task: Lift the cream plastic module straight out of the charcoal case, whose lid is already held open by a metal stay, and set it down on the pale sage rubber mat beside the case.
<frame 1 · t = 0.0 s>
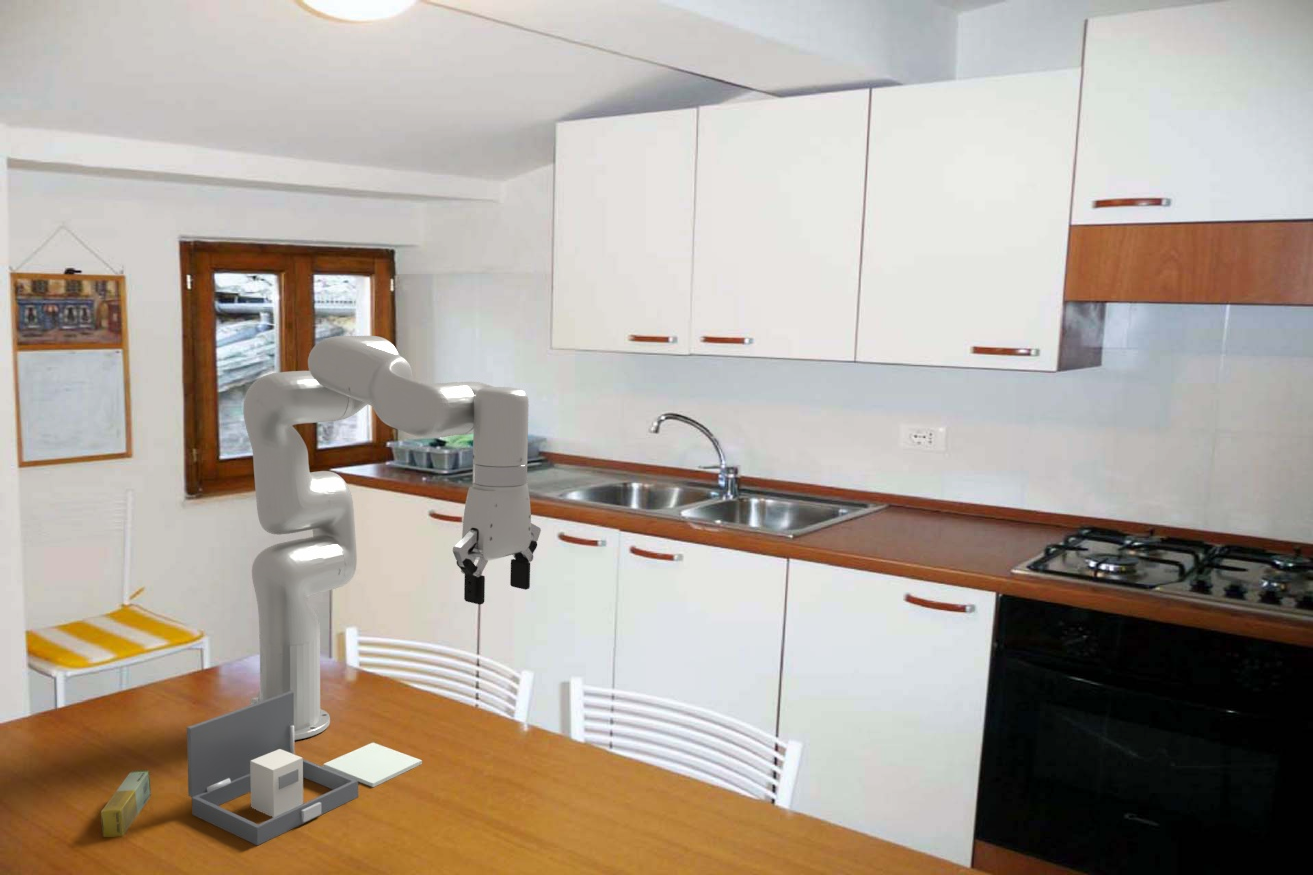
hand: (497, 594, 150), 31 cm above the table, tool pointing down, fingers open, 9 cm apart
module: (277, 805, 151), resting in case
mat: (373, 765, 165), on the table
case: (277, 805, 151), on the table
medication box: (127, 817, 147), on the table
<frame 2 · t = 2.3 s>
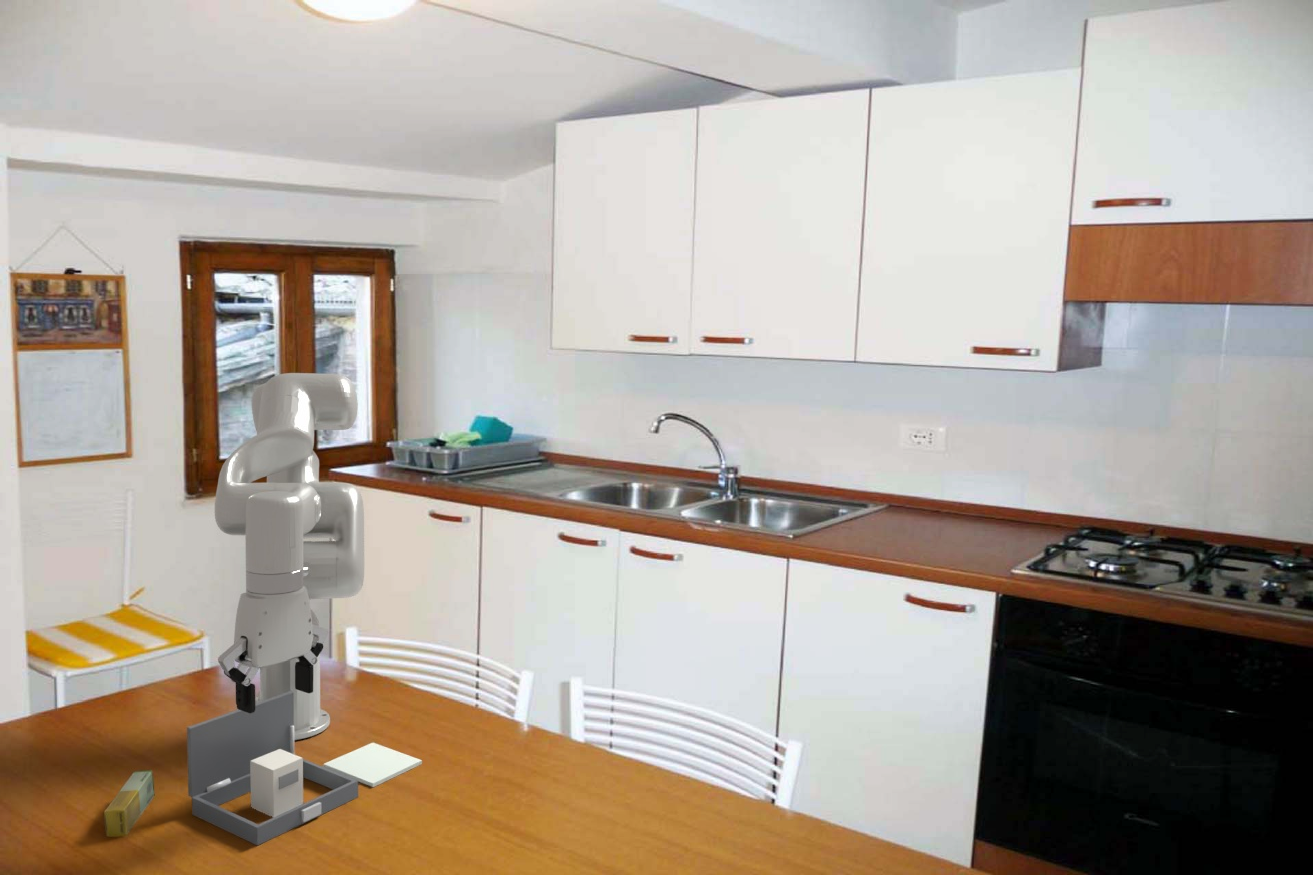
hand: (275, 700, 149), 16 cm above the table, tool pointing down, fingers open, 9 cm apart
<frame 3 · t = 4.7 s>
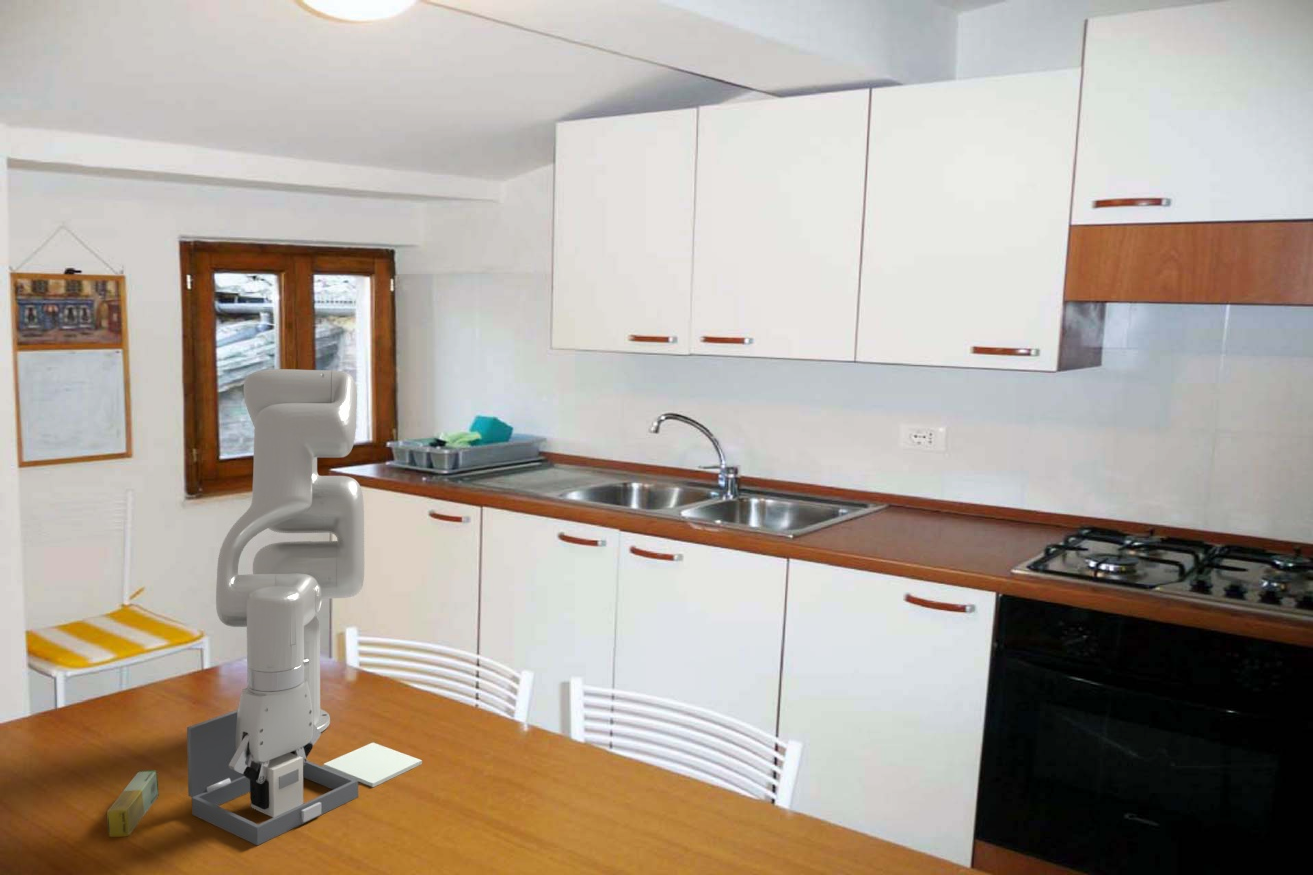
hand: (277, 797, 151), 1 cm above the table, tool pointing down, fingers closed on module, 5 cm apart
module: (277, 805, 151), resting in case, touching gripper
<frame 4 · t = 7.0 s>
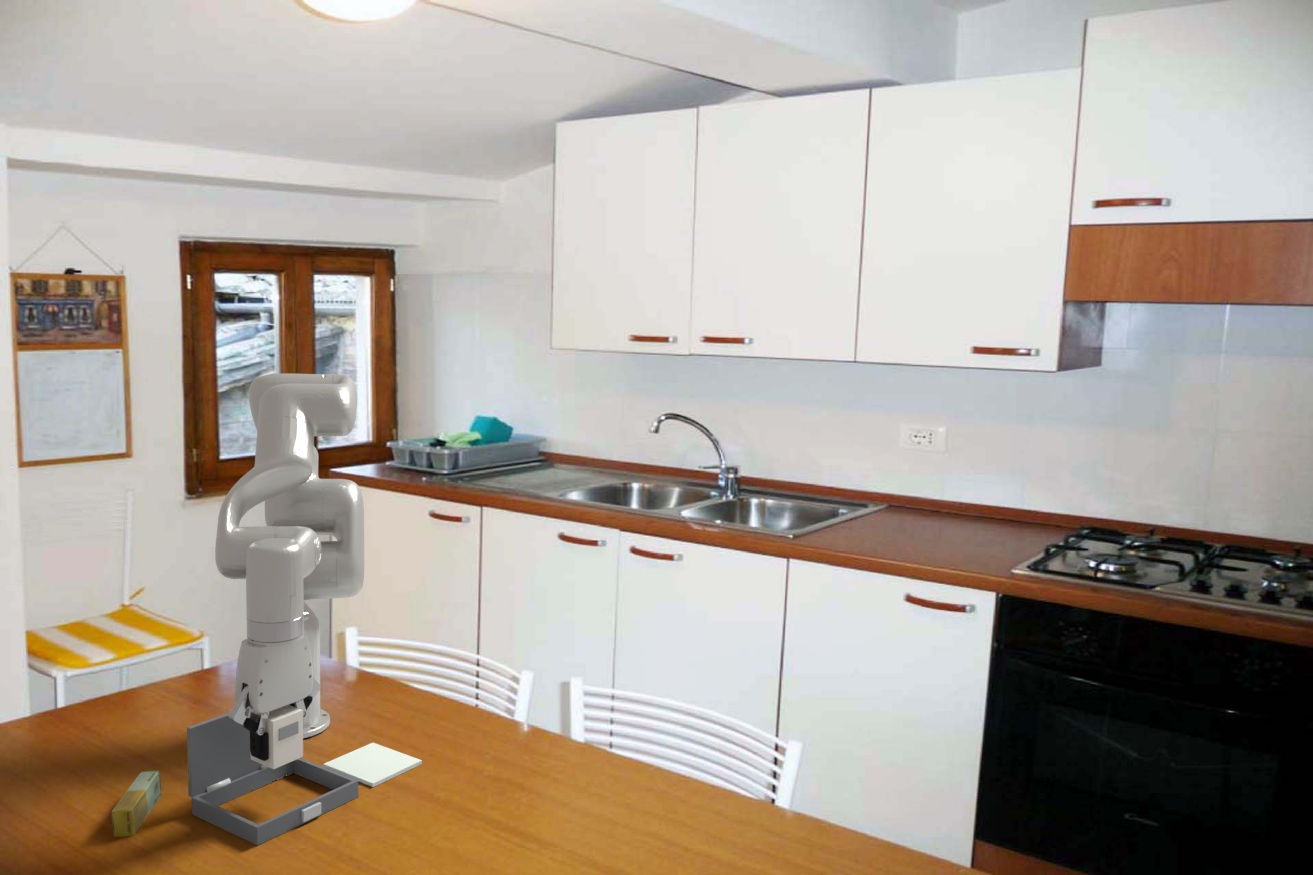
hand: (276, 749, 151), 8 cm above the table, tool pointing down, fingers closed on module, 5 cm apart
module: (277, 757, 151), point 7 cm above the table, touching gripper
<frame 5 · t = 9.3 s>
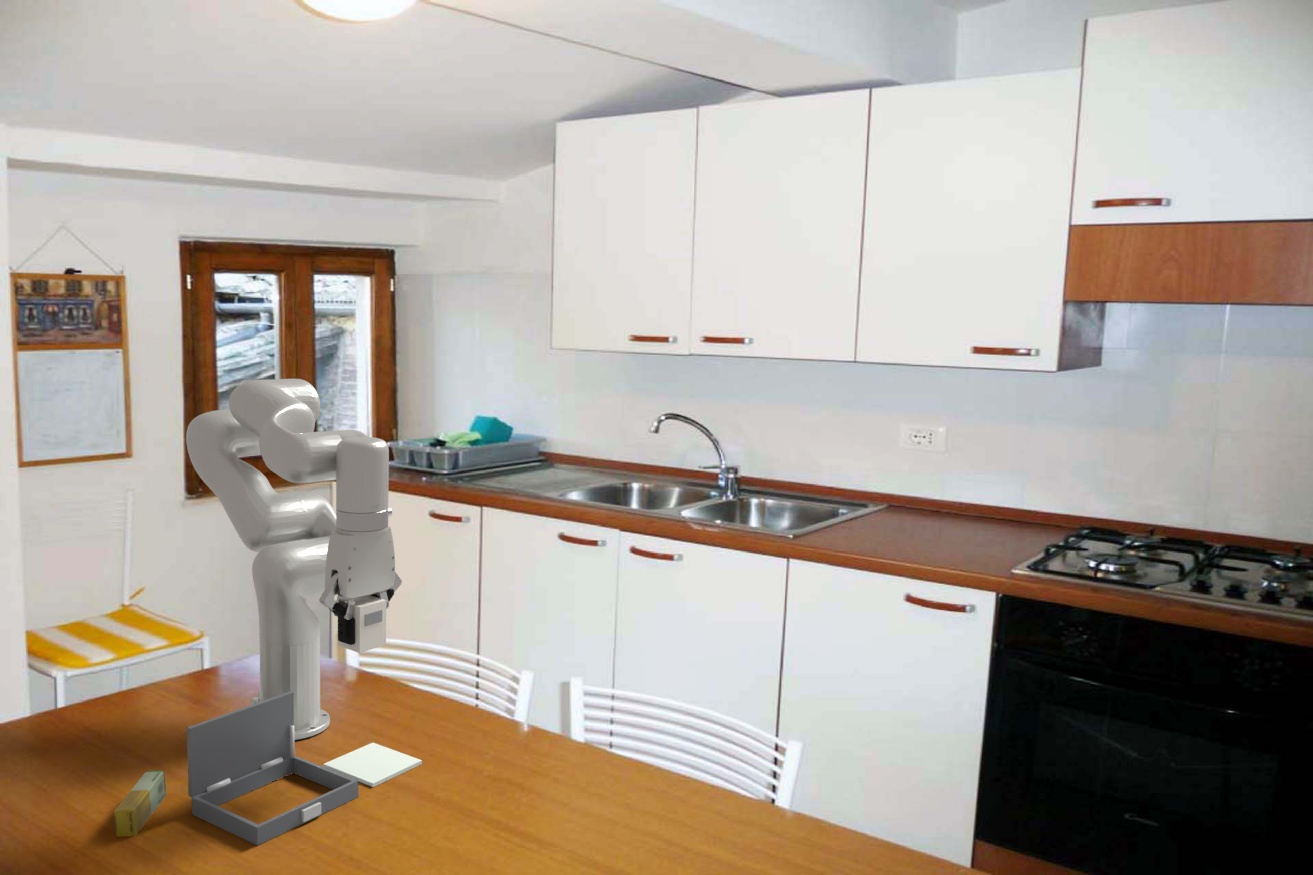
hand: (361, 636, 160), 21 cm above the table, tool pointing down, fingers closed on module, 5 cm apart
module: (361, 644, 161), point 20 cm above the table, touching gripper
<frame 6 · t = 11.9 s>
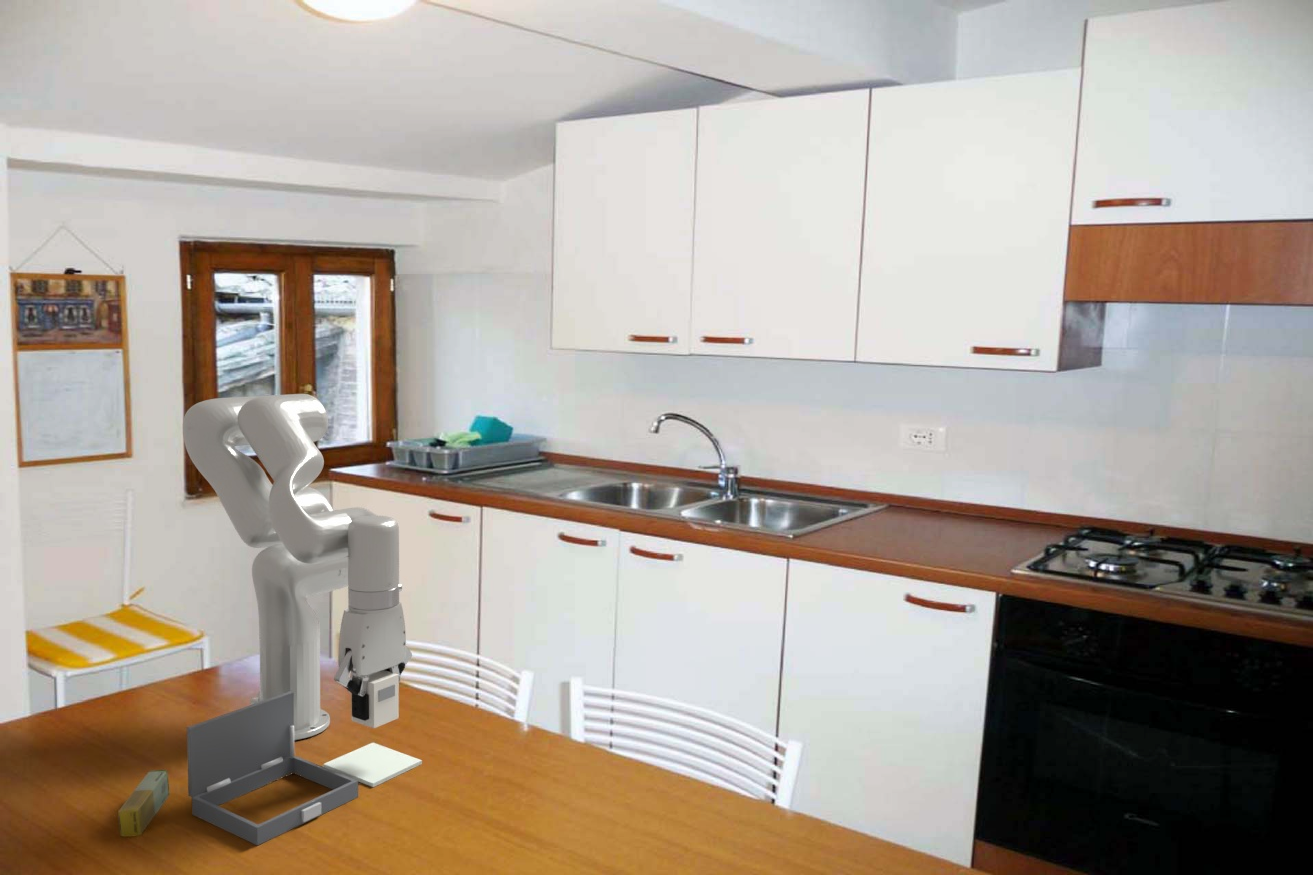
hand: (374, 711, 163), 9 cm above the table, tool pointing down, fingers closed on module, 5 cm apart
module: (375, 719, 164), point 8 cm above the table, touching gripper
when the fingers open (3 cm above the table, at t = 14.0 s): module stays where it is, resting on mat.
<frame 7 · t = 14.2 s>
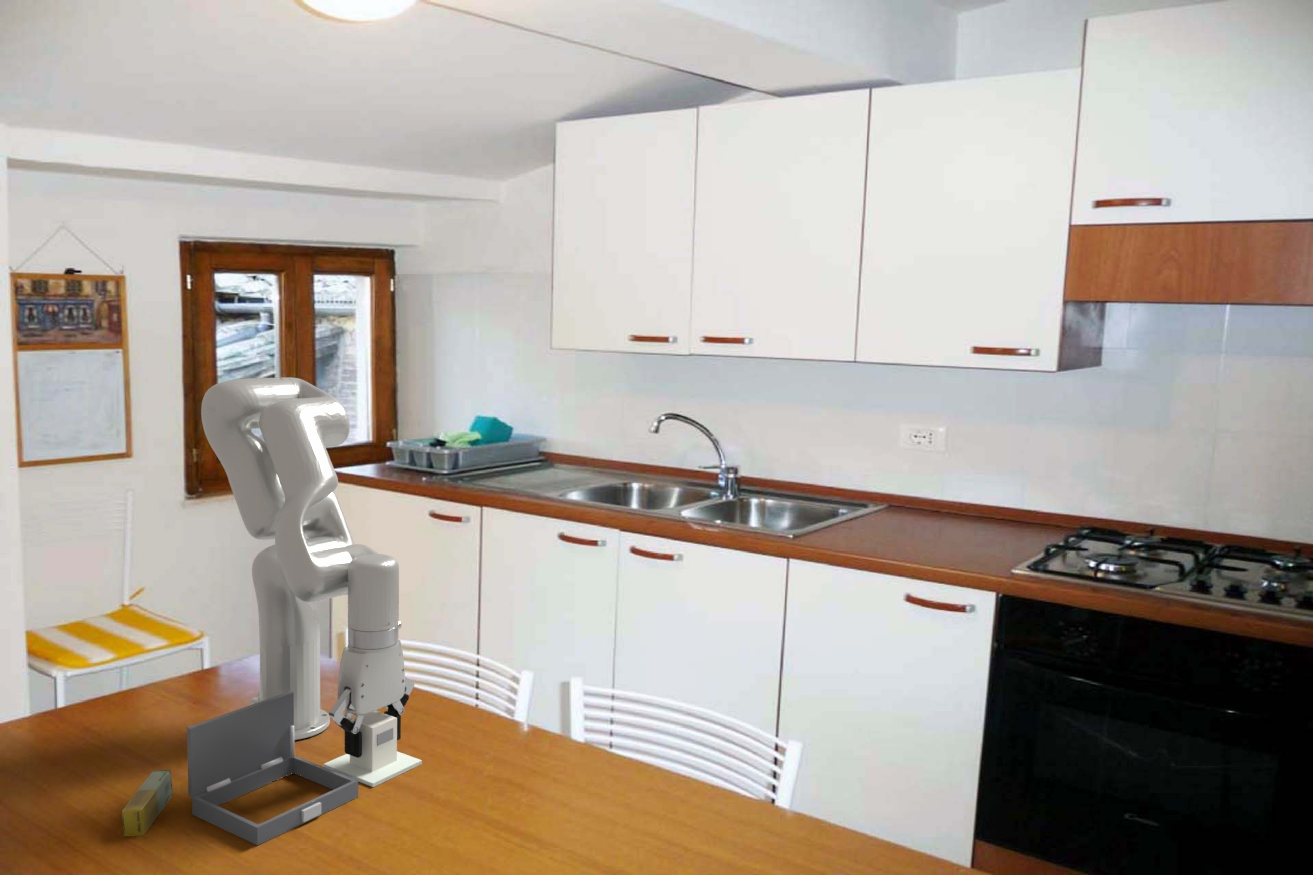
hand: (373, 745, 164), 3 cm above the table, tool pointing down, fingers open, 7 cm apart
module: (373, 761, 165), point 1 cm above the table, touching mat
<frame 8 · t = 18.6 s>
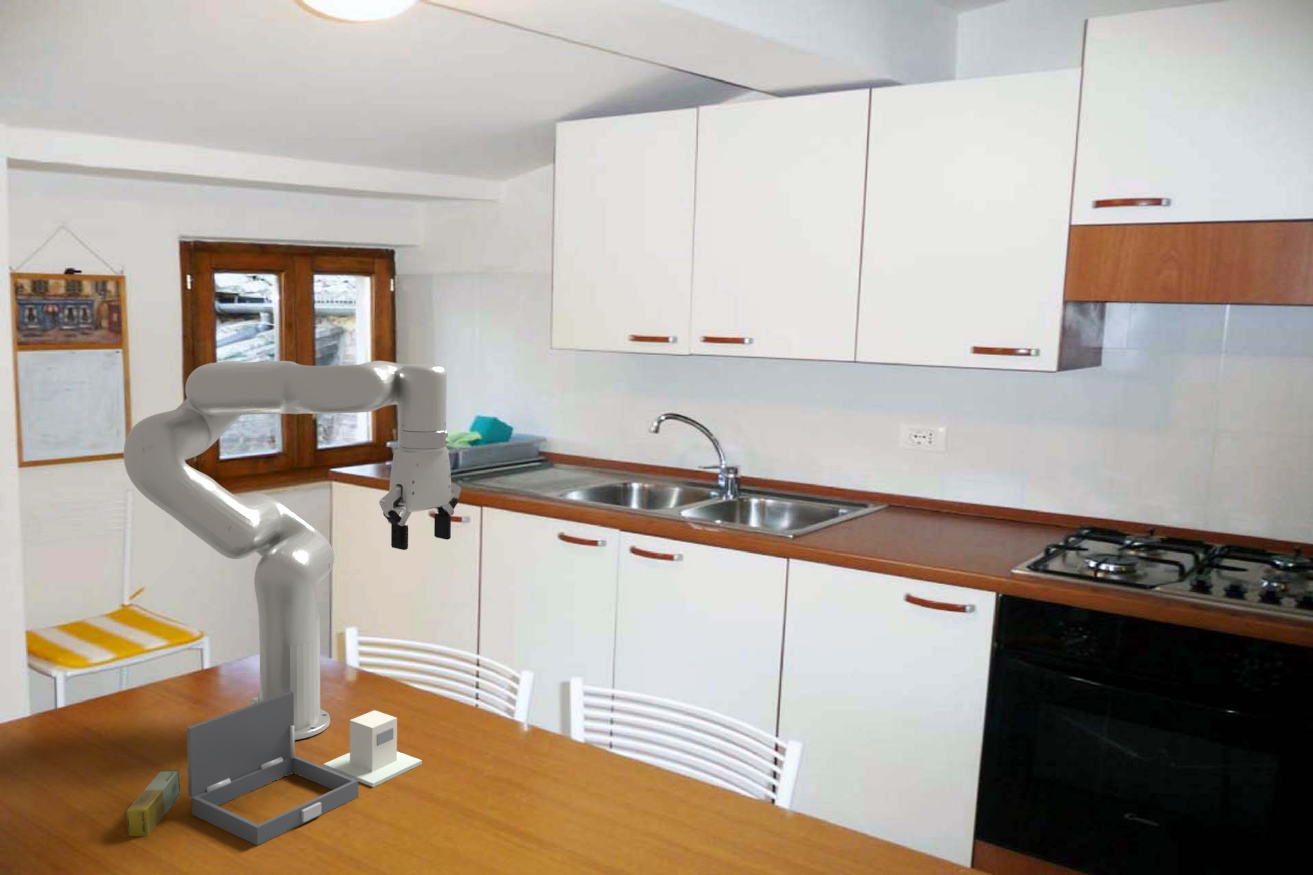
hand: (421, 543, 174), 32 cm above the table, tool pointing down, fingers open, 9 cm apart
at the end: module inside the target area on the mat (0.1 cm from its centre), point 0.6 cm above the mat's base; module tilted 0°; the gripper is holding nothing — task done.
